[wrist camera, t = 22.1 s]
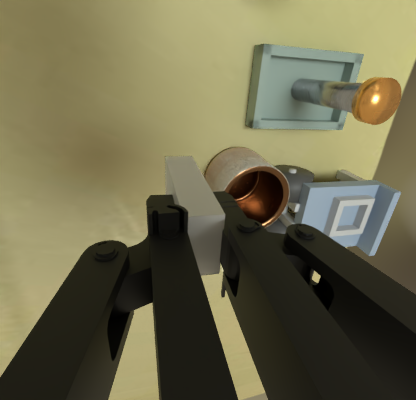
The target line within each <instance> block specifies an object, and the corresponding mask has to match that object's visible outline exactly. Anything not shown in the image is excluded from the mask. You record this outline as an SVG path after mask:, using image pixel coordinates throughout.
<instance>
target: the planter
mask: <svg viewBox="0 0 416 400" xmlns="http://www.w3.org/2000/svg"><path fill="white" fill-rule="evenodd" d="M205 180H206V181H207V183H208V185H209V187H210V188H211V190H212V192H216V191H225V192H227V193H228V194H230V195H232V197H233V198H234V199H235V201H236V202H237V204H238V205H239V207H240V208H241V209H242V211H243V212H244V214H245V215H246V217H247V218H249V219H253V220H256V221H258V222H260V223H261V224H262V225H263V226H264V227H267V226H269V225H271V224H272V223H273V222H275V221H276V220H277V219H278V218H279V217H280V215H281V214H282V213H283V211H284V210H285V208H286V206H287V203H288V200H289V194H290V189H289V184H288V181H287V179H286V177H285V176H284V174H283V173H282V172H281V171H280V170H278V169H277V168H275V167H274V166H273V165H271V164H270V163H269V162H267V161H266V160H265V159H264V158H262V157H261V156H260V155H258V154H257V153H256V152H254V151H253V150H250V149H248V148H244V147H234V148H230V149H227V150H225V151H223V152H221V153H220V154H218V155H217V156H216V157H215V158H214V159H213V160H212V161H211V163H210V164H209V166H208V168H207V171H206V175H205Z"/></svg>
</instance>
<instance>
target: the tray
mask: <svg viewBox="0 0 416 400" xmlns="http://www.w3.org/2000/svg"><path fill="white" fill-rule="evenodd" d="M363 56H364V54H357V53H348V52H338V51H328V50H319V49H309V48H299V47H289V46H280V45H270V44H261V45H255V51H254V59H253V67H252V75H251V84H250V92H249V100H248V108H247V116H246V124H245V125H247V126H249V127H251V128H260V129H318V130H343V126H344V123H345V119H346V116H347V112H346V111H342V110H337V109H333V108H328V107H324V106H320V105H315V104H311V103H306V102H302V101H297V100H295V99H294V98H293V97H292V95H291V89H292V86H293V84H294V82H295V81H297V80H298V79H301V78H304V79H316V80H328V81H340V82H351V83H356V80H357V77H358V73H359V70H360V66H361V63H362V59H363Z"/></svg>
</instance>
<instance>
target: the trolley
mask: <svg viewBox="0 0 416 400" xmlns="http://www.w3.org/2000/svg"><path fill="white" fill-rule="evenodd" d="M274 167H275V168H277V169H278V170H280V171H281V172H282V173H283V174H284V176H285V177H286V179H287V181H288V184H289V189H290V194H289V200H288V203H287V206H286V208H285V210H284V211H283V213H282V214H281V215H280V217H279V218H278V219H277V220H276V221H275V222H273V223H272V224H271V225H269V226H267V227H265V229H266V230H267V231H268V232H272V233H281V234H285V232H286V229H287V227H288V226H289V225H291V224H297V223H301V224H307V225H309V226H312V227H314V228H316V229H318V230H319V231H321V232H322V233H324V234H325V235H327V236H328V237H330V238H331V239H333V240H334V241H336V242H337V243H339V244H340V245H342V246H343V247H348V246H358V247H359V248H360V249H361V250H362V251H364V252H365V253H366V254H367V255H369V256H371V255H375V253H376V251H377V248H378V246H379V244H380V241H381V239H382V237H383V234H384V232H385V229H386V227H387V225H388V222H389V219H390V218H391V215H392V213H393V210H394V208H395V206H396V203H397V201H398V199H399V196H400V194H401V192H399V191H397V190H395V189H393V188H391V187H389V186H387V185H385V184H383V183H381V182H379V181H376V180H364V179H362V178H360V177H358V176H356V175H354V174H352V173H350V172H348V171H346V170H338V172H337V175H336V178H337V179H339V180H340V181H339V182H313V179H314V174H313V173H312V172H310V171H308V170H306V169H303V168H300V167H295V166H288V165H279V166H274ZM288 207H289V208H291V209H292V210H293V211H294V212H296V215H295V214H293V213H291V212H288Z"/></svg>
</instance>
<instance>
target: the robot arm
mask: <svg viewBox="0 0 416 400" xmlns="http://www.w3.org/2000/svg"><path fill="white" fill-rule="evenodd" d="M165 180H166V195H151V196H150V197H149V198H148V199H147V201H146V205H147V224H148V236H147V237H146V239H145V240H144V241H142V242H141V243H139V244H137V245H134V246H132V247H128V248H127V246H126V245H125V244H124V243H122V242H119V241H114V240H109V241H102V242H98V243H95V244H93V245H92V246H90V247H88V248H87V249H86V250H85V251H84V252H83V254H82V255H81V257H80V258H79V260H78V261H77V263H76V264H75V266H74V267H73V269H72V270H71V272H70V273H69V275H68V276H67V278H66V279H65V281H64V282H63V284H62V285H61V287H60V288H59V290H58V291H57V293H56V294H55V296H54V297H53V299H52V300H51V302H50V304H49V305H48V307H47V308H46V310H45V311H44V313H43V314H42V316H41V317H40V319H39V320H38V322H37V323H36V325H35V326H34V328H33V329H32V331H31V332H30V334H29V335H28V337H27V338H26V340H25V341H24V343H23V344H22V346H21V347H20V349H19V350H18V352H17V353H16V355H15V356H14V358H13V359H12V361H11V362H10V364H9V365H8V367H7V368H6V370H5V371H4V373H3V374H2V376H1V377H0V400H108V398H109V395H110V391H111V388H112V385H113V381H114V378H115V375H116V371H117V368H118V365H119V361H120V358H121V355H122V351H123V348H124V345H125V341H126V338H127V335H128V331H129V328H130V325H131V321H132V318H133V315H134V310H135V309H138V308H140V307H142V306H145V305H147V304H149V303H152V302H153V316H154V331H155V345H156V359H157V373H158V388H159V400H238V397H237V394H236V391H235V387H234V384H233V381H232V377H231V374H230V371H229V368H228V364H227V361H226V358H225V354H224V351H223V348H222V344H221V341H220V338H219V334H218V331H217V328H216V324H215V321H214V318H213V315H212V311H211V308H210V305H209V301H208V298H207V295H206V291H205V288H204V285H203V281H202V278H201V276H202V275H210V274H218V273H219V271H220V262H221V265H222V267H223V270H224V272H223V281H222V290H221V296H222V297H224V296H225V290H226V291H227V294H228V296H229V299H230V301H231V304H232V307H233V309H234V312H235V314H236V317H237V320H238V322H239V325H240V327H241V330H242V333H243V335H244V338H245V340H246V343H247V346H248V348H249V351H250V353H251V356H252V359H253V361H254V364H255V366H256V369H257V372H258V374H259V377H260V379H261V382H262V385H263V387H264V390H265V392H266V395H267V398H268V400H416V295H415V294H414V293H413V292H411V291H409V290H408V289H406V288H405V287H403V286H402V285H401V284H399V283H398V282H396V281H394V280H393V279H392V278H390V277H389V276H387V275H386V274H384V273H383V272H381V271H380V270H378V269H377V268H375V267H373V266H372V265H370V264H369V263H368V262H366V261H364V260H363V259H361V258H360V257H358V256H357V255H355V254H354V253H352V252H351V251H349V250H348V249H346V248H345V247H343V246H342V245H340V244H339V243H337V242H336V241H334V240H333V239H331V238H330V237H328V236H327V235H325V234H324V233H322V232H321V231H319V230H318V229H316V228H314V227H312V226H309V225H307V224H301V223H297V224H291V225H289V226H288V227H287V229H286V232H285V234H281V233H272V232H268V231H267V230H266V229H265V227H264V226H263V225H262V224H261V223H260V222H258V221H256V220H253V219H249V218H247V217H246V215H245V214H244V212H243V211H242V209H241V208H240V207H239V205H238V204H237V202H236V201H235V199H234V198H233V197H232V195H230V194H228V193H227V192H225V191H216V192H212V190H211V188H210V187H209V185H208V183H207V181H206V180H205V178H204V176H203V174H202V173H201V171H200V169H199V167H198V166H197V164H196V162H195V160H194V159H193V157H192V156H165ZM314 270H315V271H316V272H317V273H318V274H319V275H321V277H320V280H319V283H316V282H314V281H313V280H312V276H313V273H314Z"/></svg>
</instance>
